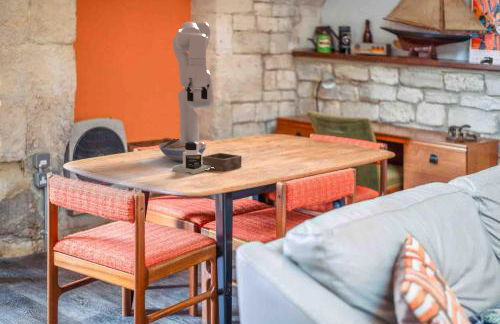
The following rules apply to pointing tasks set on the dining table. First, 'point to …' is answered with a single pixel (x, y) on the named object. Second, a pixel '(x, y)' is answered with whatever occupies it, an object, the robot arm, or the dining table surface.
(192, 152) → the medicine bottle
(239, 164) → the holder
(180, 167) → the tray
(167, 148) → the ramen bowl
